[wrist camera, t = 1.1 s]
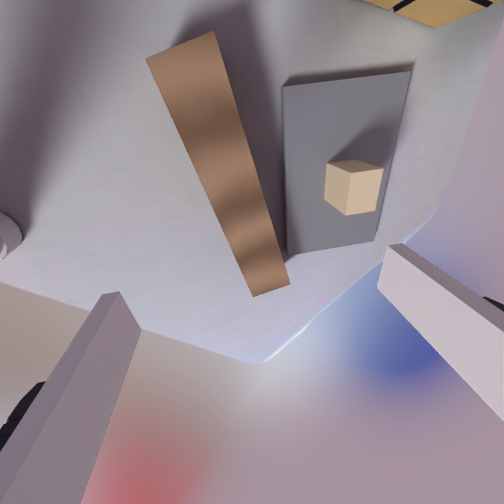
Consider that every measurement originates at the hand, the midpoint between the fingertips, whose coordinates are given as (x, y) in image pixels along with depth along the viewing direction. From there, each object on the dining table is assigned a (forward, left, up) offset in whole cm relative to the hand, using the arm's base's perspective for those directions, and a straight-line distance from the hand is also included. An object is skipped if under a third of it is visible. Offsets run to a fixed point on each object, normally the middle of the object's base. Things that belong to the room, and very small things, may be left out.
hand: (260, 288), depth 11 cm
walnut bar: (0, 0, -17) cm, 17 cm away
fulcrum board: (0, +11, -16) cm, 20 cm away
